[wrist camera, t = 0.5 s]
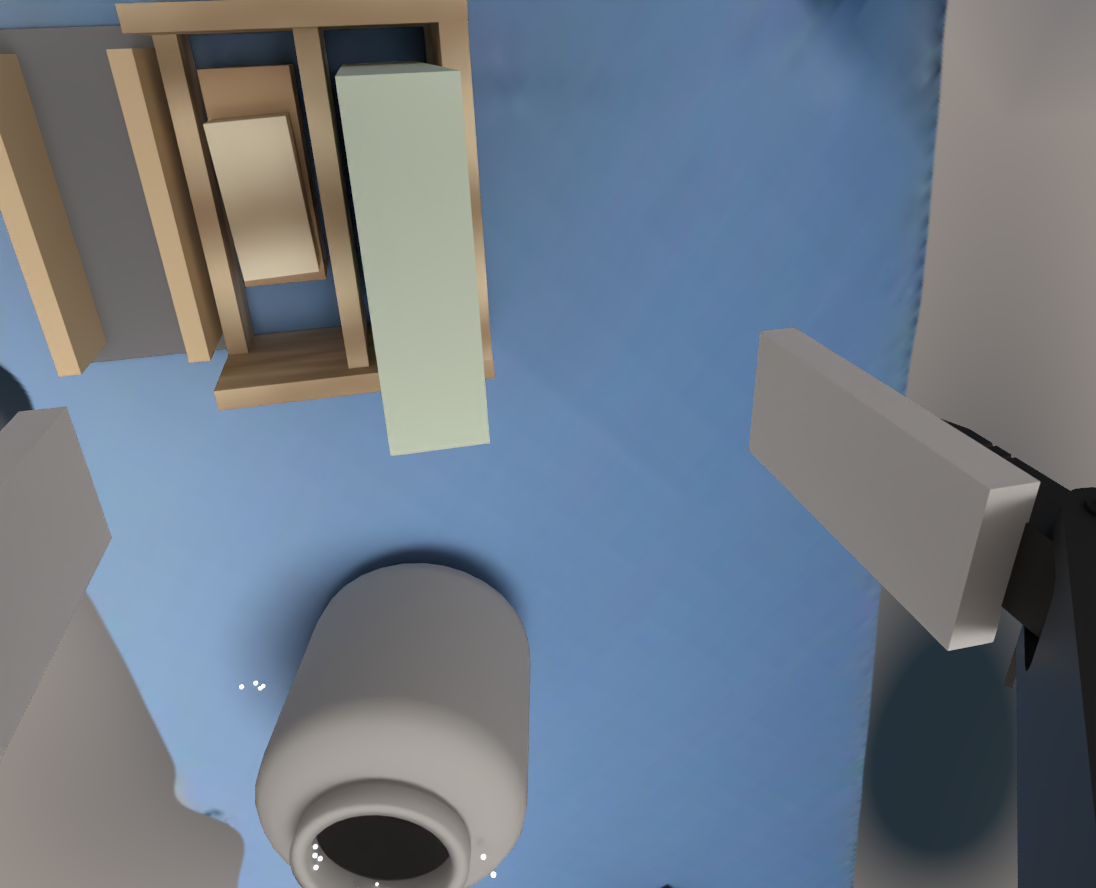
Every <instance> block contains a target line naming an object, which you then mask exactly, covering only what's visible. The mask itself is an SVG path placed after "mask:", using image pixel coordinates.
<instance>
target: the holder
mask: <svg viewBox="0 0 1096 888" xmlns="http://www.w3.org/2000/svg"><path fill="white" fill-rule="evenodd" d="M0 210H1V213H2V216H3V219H4V221H5V224H6V227H7V230H8V233H9V236H10V239H11V241H12V244H13V247H14V250H15V253H16V256H17V258H18V261H19V264H20V267H21V270H22V273H23V275H24V278H25V281H26V284H27V287H28V290H29V293H30V295H31V298H32V301H33V304H34V307H35V310H36V312H37V315H38V318H39V321H40V324H41V327H42V330H43V332H44V335H45V338H46V341H47V344H48V347H49V349H50V352H51V355H52V358H53V361H54V364H55V367H56V369H57V372H58V375H59V377H61V376H71V375H80V374H82V373H83V372H84V371H85V369H86V368H87V367H88V366H89V364H90V363H94V362H104V361H113V360H123V359H133V358H142V357H152V356H161V355H171V354H180V353H187V356H188V360H189V363H192V362H201V361H210V360H211V358H212V356H213V354H214V351H215V350H218V349H227V347H226V342H225V338H224V334H223V330H222V326H221V322H220V317H219V313H218V309H217V305H216V301H215V297H214V292H213V288H212V284H211V280H210V276H209V272H208V267H207V263H206V259H205V255H204V251H203V247H202V242H201V238H200V234H199V230H198V226H197V222H196V217H195V213H194V209H193V205H192V201H191V197H190V192H189V188H188V184H187V180H186V176H185V172H184V167H183V163H182V159H181V155H180V151H179V147H178V142H177V138H176V134H175V130H174V126H173V121H172V117H171V113H170V109H169V105H168V101H167V96H166V92H165V88H164V84H163V80H162V76H161V71H160V67H159V63H158V59H157V55H156V51H155V46H154V42H153V38H152V35H140V34H124V33H122V29H121V25H113V26H84V27H55V28H25V29H0Z"/></svg>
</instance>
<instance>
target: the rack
mask: <svg viewBox="0 0 1096 888" xmlns="http://www.w3.org/2000/svg"><path fill="white" fill-rule="evenodd" d="M115 6H116V10H117V14H118V17H119V21H120V25H121V29H122V33H124V34H140V35H152V38H153V42H154V46H155V51H156V55H157V59H158V63H159V67H160V71H161V76H162V80H163V84H164V88H165V92H166V96H167V101H168V105H169V109H170V113H171V117H172V121H173V126H174V130H175V134H176V138H177V142H178V147H179V151H180V155H181V159H182V163H183V167H184V172H185V176H186V180H187V184H188V188H189V192H190V197H191V201H192V205H193V209H194V213H195V217H196V222H197V226H198V230H199V234H200V238H201V242H202V247H203V251H204V255H205V259H206V263H207V267H208V272H209V276H210V280H211V284H212V288H213V292H214V297H215V301H216V305H217V309H218V313H219V317H220V322H221V326H222V330H223V334H224V338H225V342H226V347H227V351H228V358H227V360H226V363H225V365H224V367H223V370H222V372H221V375H220V377H219V380H218V382H217V385H216V387H215V390H214V394H215V398H216V402H217V406H218V410H227V409H236V408H244V407H253V406H261V405H270V404H278V403H287V402H295V401H304V400H312V399H321V398H329V397H337V396H346V395H354V394H363V393H371V392H380V391H381V386H380V380H379V373H378V366H377V359H376V352H375V346H374V339H373V332H372V325H371V323H367V321H366V314H365V307H364V301H363V294H362V287H361V281H360V274H359V267H358V261H357V254H356V247H355V240H354V234H353V227H352V220H351V214H350V207H349V200H348V194H347V187H346V180H345V174H344V167H343V160H342V154H341V147H340V140H339V134H338V127H337V120H336V114H335V107H334V100H333V93H332V87H331V80H330V73H329V67H328V60H327V53H326V47H325V40H324V33H323V30H344V29H371V28H399V27H423V29H424V39H425V49H426V59H427V64H431V65H436V66H441V67H445V68H450V69H455V70H460V74H461V86H462V99H463V111H464V124H465V137H466V149H467V162H468V174H469V187H470V199H471V212H472V225H473V237H474V250H475V262H476V275H477V287H478V300H479V312H480V325H481V338H482V350H483V363H484V375H485V379H490V378H495V374H494V361H493V358H492V347H491V334H490V320H489V306H488V293H487V279H486V266H485V252H484V239H483V225H482V212H481V198H480V184H479V171H478V157H477V144H476V130H475V117H474V103H473V90H472V76H471V62H470V49H469V35H468V22H467V21H469V19H468V5H467V0H220V1H186V2H152V3H118V4H115ZM290 31H293V35H294V41H295V48H296V54H297V60H298V66H299V72H300V78H301V84H302V90H303V96H304V102H305V108H306V114H307V120H308V126H309V132H310V138H311V144H312V150H313V156H314V162H315V168H316V174H317V180H318V186H319V192H320V199H321V205H322V211H323V217H324V223H325V229H326V235H327V241H328V247H329V253H330V259H331V265H332V271H333V277H334V283H335V289H336V295H337V301H338V307H339V313H340V319H341V325H342V326H336V327H326V328H316V329H307V330H297V331H287V332H277V333H268V334H258V335H254V330H253V326H252V321H251V317H250V312H249V308H248V303H247V299H246V294H245V290H244V285H243V281H242V276H241V272H240V267H239V263H238V258H237V253H236V249H235V244H234V240H233V236H232V232H231V229H230V225H229V221H228V217H227V213H226V210H225V206H224V202H223V198H222V194H221V191H220V187H219V183H218V179H217V176H216V172H215V168H214V164H213V160H212V157H211V153H210V149H209V145H208V141H207V138H206V134H205V130H204V126H203V124H204V123H206V122H207V118H206V113H205V108H204V104H203V99H202V95H201V90H200V86H199V81H198V77H197V72H196V68H195V63H194V59H193V54H192V50H191V45H190V40H189V36H188V35H208V34H236V33H263V32H290Z"/></svg>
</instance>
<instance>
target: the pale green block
mask: <svg viewBox="0 0 1096 888" xmlns="http://www.w3.org/2000/svg"><path fill="white" fill-rule="evenodd" d="M335 80H336V87H337V94H338V101H339V107H340V114H341V121H342V128H343V135H344V142H345V148H346V155H347V162H348V169H349V176H350V182H351V189H352V196H353V203H354V210H355V216H356V223H357V230H358V237H359V244H360V250H361V257H362V264H363V271H364V278H365V284H366V291H367V298H368V305H369V312H370V318H371V325H372V332H373V339H374V346H375V352H376V359H377V366H378V373H379V380H380V386H381V393H382V400H383V407H384V414H385V420H386V427H387V434H388V441H389V448H390V454H391V456H396V455H404V454H411V453H419V452H426V451H434V450H441V449H449V448H456V447H464V446H471V445H479V444H486V443H490V438H489V426H488V413H487V400H486V388H485V375H484V363H483V350H482V338H481V325H480V312H479V300H478V287H477V275H476V262H475V250H474V237H473V225H472V212H471V199H470V187H469V174H468V162H467V149H466V137H465V124H464V111H463V99H462V86H461V74H460V70H455V69H450V68H445V67H441V66H436V65H431V64H427V63H422V62H417V61H390V62H368V63H345V64H342V65H341V67H340V69H339V70H338V72H337V74H336V76H335Z"/></svg>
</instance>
